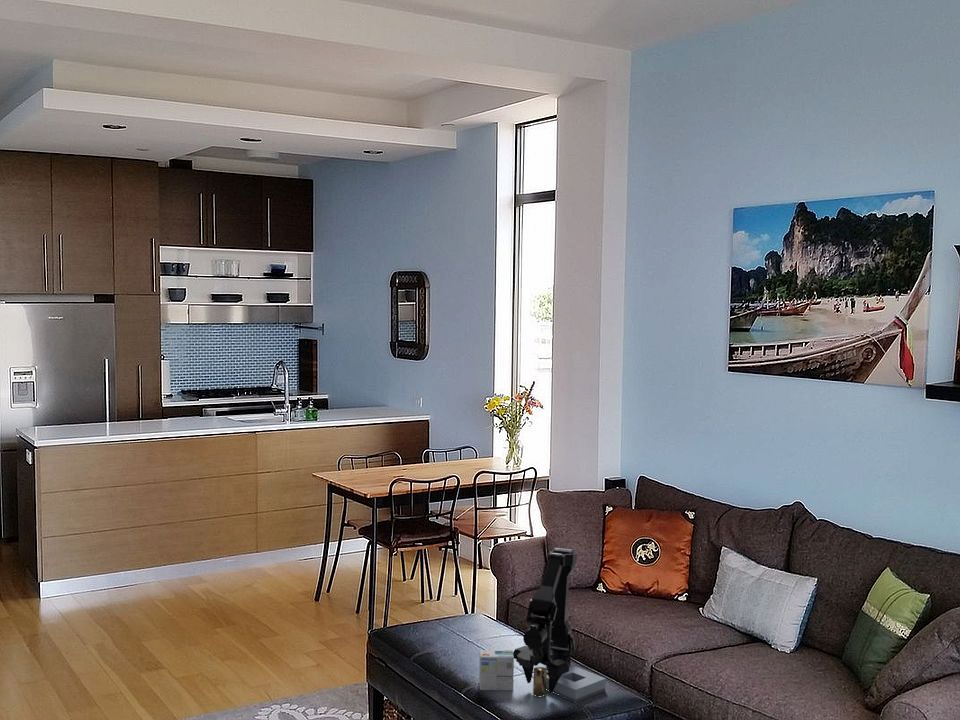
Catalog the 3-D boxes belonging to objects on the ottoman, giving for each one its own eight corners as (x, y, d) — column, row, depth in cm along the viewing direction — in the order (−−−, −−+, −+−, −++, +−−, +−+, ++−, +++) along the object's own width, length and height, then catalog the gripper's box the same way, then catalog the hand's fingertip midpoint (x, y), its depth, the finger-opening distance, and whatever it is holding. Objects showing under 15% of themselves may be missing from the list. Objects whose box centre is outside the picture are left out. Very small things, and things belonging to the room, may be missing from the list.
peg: (530, 694, 316) (531, 668, 315) (539, 691, 319) (540, 665, 318) (539, 698, 313) (540, 672, 312) (548, 695, 316) (549, 669, 315)
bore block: (541, 688, 321) (541, 675, 320) (571, 677, 330) (571, 665, 330) (575, 702, 311) (575, 689, 310) (605, 690, 320) (605, 678, 320)
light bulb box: (512, 682, 325) (513, 649, 324) (513, 691, 318) (514, 657, 317) (478, 682, 324) (479, 648, 323) (479, 690, 318) (480, 656, 317)
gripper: (501, 635, 316) (499, 684, 317) (545, 652, 302) (543, 704, 303) (526, 627, 323) (524, 675, 325) (571, 644, 310) (569, 694, 311)
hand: (539, 687), depth 316 cm, fingers open, 9 cm apart
